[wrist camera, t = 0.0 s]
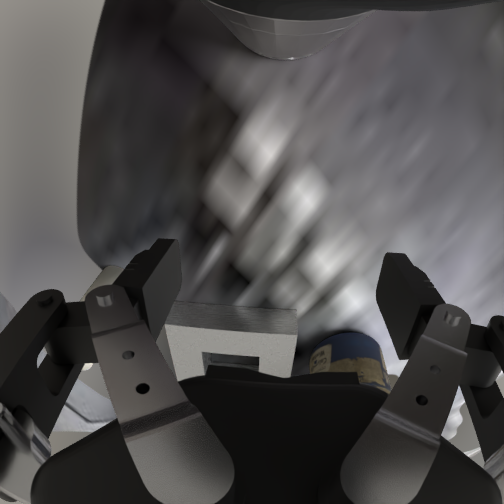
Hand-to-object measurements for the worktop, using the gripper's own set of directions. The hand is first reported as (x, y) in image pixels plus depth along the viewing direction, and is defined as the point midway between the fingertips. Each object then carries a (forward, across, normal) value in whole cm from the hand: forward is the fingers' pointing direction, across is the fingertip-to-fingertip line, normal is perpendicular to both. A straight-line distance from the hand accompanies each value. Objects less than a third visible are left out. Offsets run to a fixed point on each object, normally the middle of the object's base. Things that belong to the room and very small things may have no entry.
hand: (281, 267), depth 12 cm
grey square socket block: (+19, +4, +22) cm, 30 cm away
